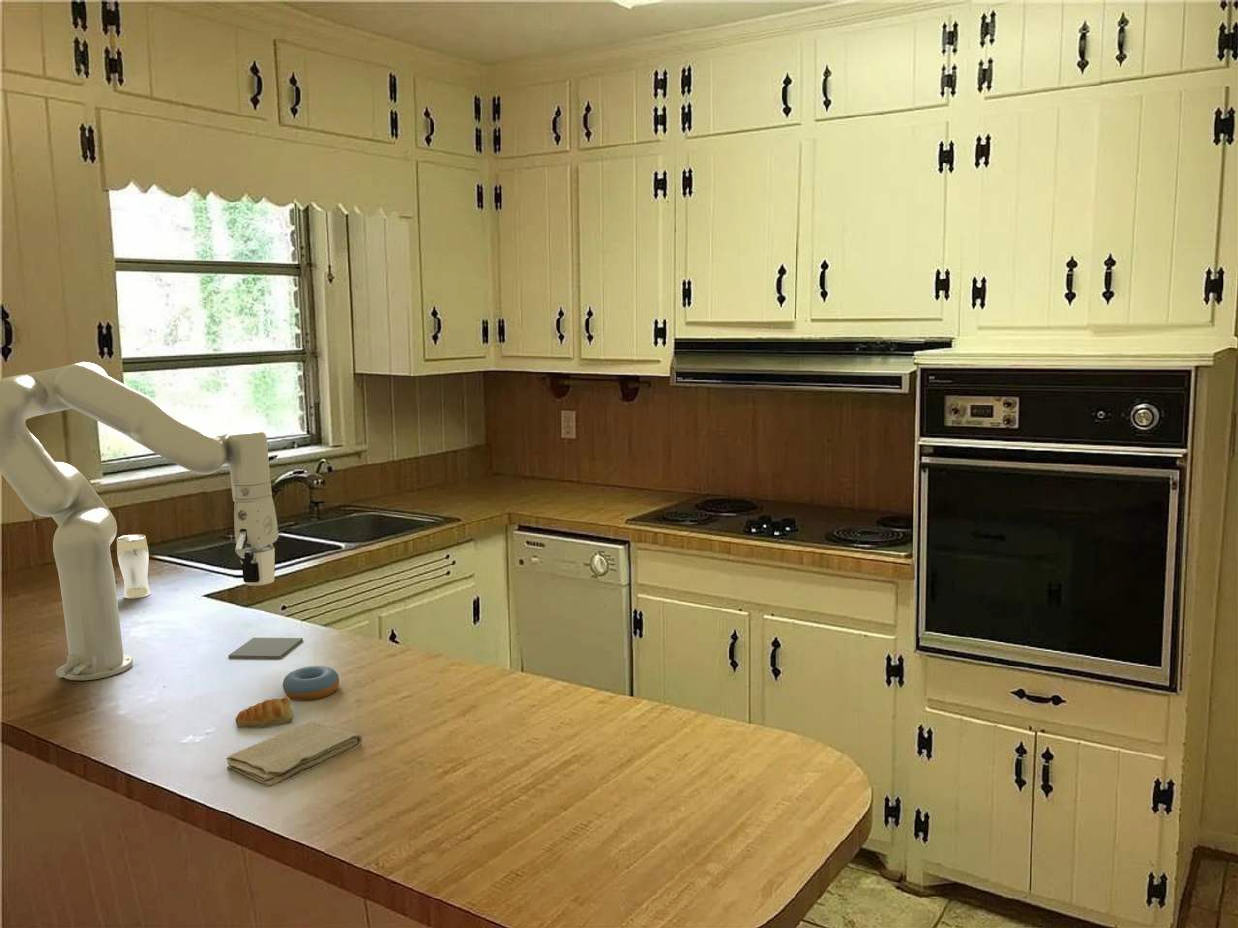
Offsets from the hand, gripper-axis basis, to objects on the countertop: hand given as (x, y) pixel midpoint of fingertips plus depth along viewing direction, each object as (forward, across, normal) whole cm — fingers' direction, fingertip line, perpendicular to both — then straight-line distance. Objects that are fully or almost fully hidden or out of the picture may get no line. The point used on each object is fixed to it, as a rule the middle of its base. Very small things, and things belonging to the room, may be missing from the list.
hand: (259, 576), depth 208 cm
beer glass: (+16, +38, +52) cm, 66 cm away
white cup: (+1, 0, 0) cm, 1 cm away
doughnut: (+16, -22, -19) cm, 34 cm away
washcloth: (+17, -49, -28) cm, 59 cm away
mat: (+16, 0, 0) cm, 16 cm away
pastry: (+16, -35, -17) cm, 43 cm away
